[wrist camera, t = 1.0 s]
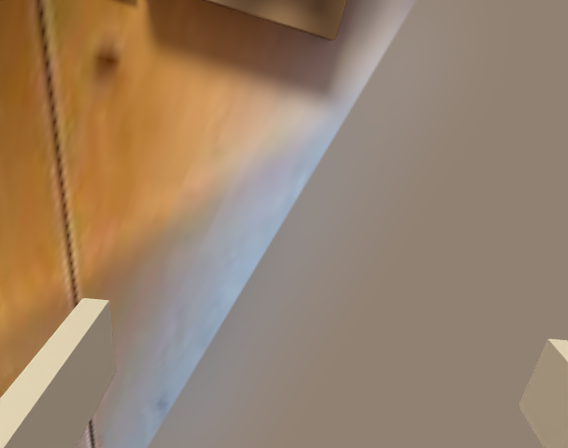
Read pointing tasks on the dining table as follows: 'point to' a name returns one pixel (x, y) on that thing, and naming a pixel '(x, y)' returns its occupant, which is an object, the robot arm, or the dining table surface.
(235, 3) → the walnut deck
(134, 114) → the dining table surface
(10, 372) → the dining table surface
